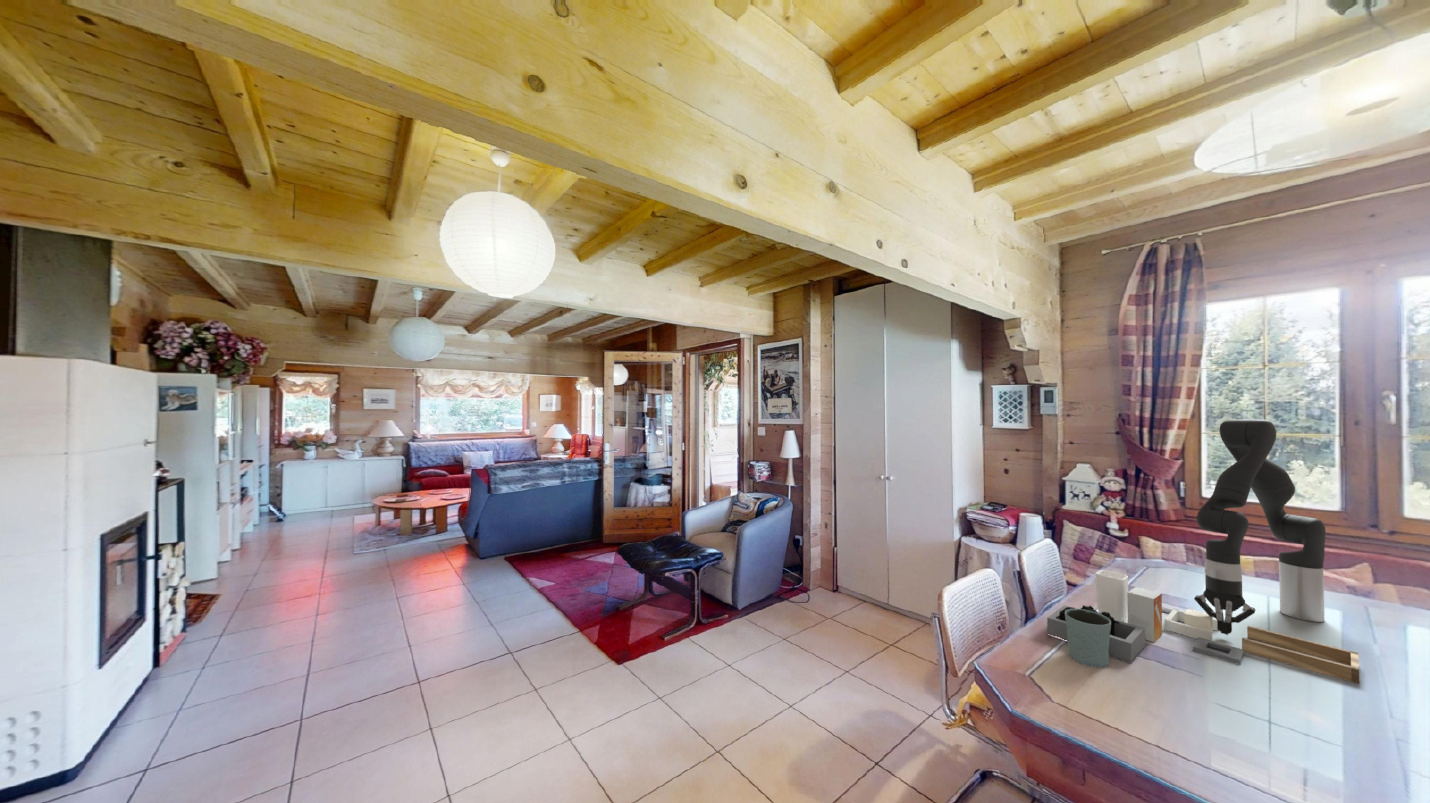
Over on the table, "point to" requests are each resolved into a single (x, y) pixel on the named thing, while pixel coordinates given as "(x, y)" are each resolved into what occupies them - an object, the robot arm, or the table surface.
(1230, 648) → the hole frame
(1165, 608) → the crook tool
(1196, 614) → the cream cube
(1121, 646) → the grey rectangular planter box
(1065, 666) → the table surface
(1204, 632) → the cream bay
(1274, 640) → the wooden u-shaped frame
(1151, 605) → the small box
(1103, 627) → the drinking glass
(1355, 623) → the table surface
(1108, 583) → the white rounded prism
